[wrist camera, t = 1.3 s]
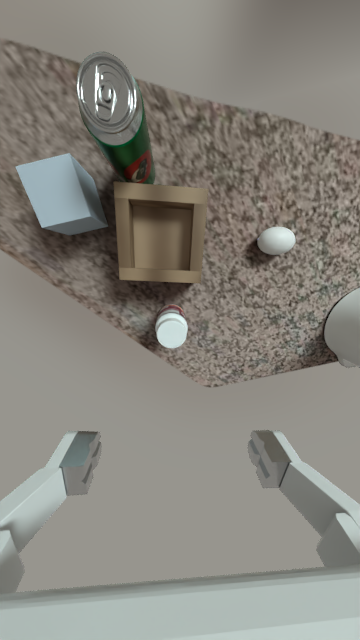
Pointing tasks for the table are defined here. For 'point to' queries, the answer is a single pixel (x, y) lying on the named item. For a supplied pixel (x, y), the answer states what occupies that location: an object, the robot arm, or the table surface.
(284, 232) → the egg
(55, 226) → the slate block
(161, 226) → the wooden open box
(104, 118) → the soda can
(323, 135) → the table surface
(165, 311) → the pill bottle
